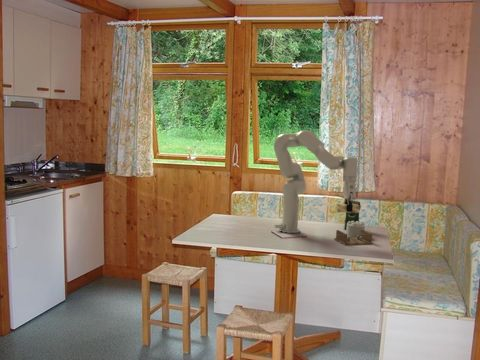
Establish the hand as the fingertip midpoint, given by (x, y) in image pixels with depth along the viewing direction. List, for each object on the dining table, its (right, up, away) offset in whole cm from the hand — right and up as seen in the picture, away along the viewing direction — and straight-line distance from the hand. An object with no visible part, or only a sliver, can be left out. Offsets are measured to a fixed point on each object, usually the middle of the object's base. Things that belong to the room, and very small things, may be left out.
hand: (348, 210), depth 284 cm
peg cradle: (+3, -18, +2) cm, 19 cm away
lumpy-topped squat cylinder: (+8, -17, +19) cm, 26 cm away
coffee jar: (+10, -15, +35) cm, 39 cm away
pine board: (0, -1, 0) cm, 1 cm away
